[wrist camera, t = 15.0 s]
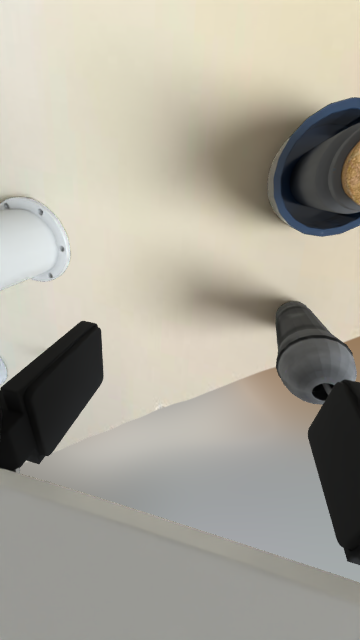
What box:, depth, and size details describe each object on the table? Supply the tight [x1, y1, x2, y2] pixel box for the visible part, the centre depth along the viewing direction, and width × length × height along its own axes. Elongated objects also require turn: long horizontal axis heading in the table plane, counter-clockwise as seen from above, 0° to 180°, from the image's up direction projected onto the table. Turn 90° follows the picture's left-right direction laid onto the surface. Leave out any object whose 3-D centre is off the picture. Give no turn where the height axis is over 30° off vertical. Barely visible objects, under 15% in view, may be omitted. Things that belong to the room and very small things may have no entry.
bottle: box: [290, 123, 360, 214], centre depth 20 cm, size 6×6×15 cm
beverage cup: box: [276, 302, 356, 404], centre depth 26 cm, size 7×7×20 cm
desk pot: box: [267, 97, 360, 236], centre depth 24 cm, size 11×11×6 cm
